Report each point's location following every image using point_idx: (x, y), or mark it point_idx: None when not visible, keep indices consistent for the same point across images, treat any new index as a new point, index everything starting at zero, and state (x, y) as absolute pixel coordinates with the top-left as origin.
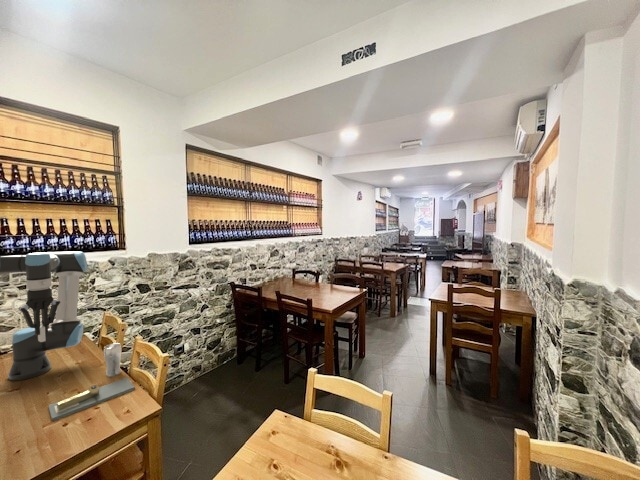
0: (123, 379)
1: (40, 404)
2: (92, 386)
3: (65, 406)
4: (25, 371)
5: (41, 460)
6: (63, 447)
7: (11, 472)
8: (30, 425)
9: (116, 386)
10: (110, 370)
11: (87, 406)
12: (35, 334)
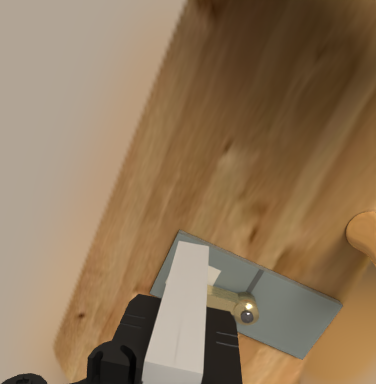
0: (330, 305)
1: (182, 192)
2: (246, 313)
3: None
4: None
5: None
6: None
7: (56, 352)
8: (126, 260)
9: (293, 316)
10: (360, 247)
11: None
12: (138, 294)
